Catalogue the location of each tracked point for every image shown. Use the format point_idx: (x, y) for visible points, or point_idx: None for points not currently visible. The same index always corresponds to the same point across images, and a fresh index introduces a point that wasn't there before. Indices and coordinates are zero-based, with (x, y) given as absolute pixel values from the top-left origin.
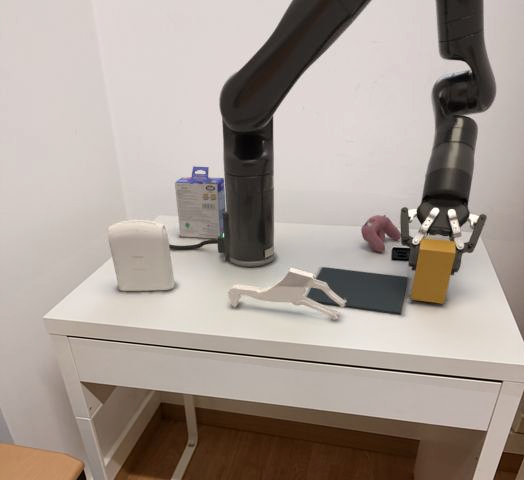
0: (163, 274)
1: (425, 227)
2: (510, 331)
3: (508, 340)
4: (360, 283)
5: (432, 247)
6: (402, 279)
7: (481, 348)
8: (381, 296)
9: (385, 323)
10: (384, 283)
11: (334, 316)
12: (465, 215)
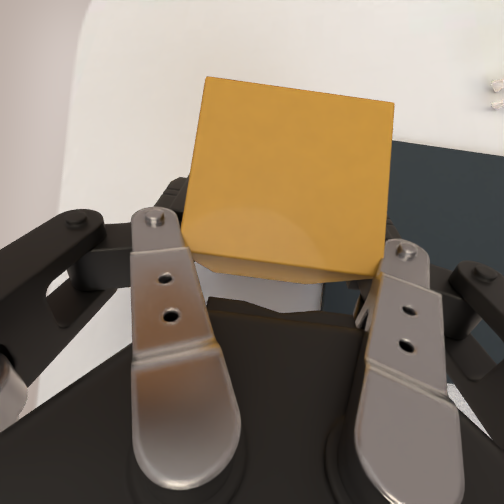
0: None
1: (403, 294)
2: (78, 93)
3: (95, 54)
4: None
5: (324, 132)
6: None
7: (166, 16)
8: (393, 215)
9: (373, 91)
10: None
11: (502, 82)
12: (9, 441)
